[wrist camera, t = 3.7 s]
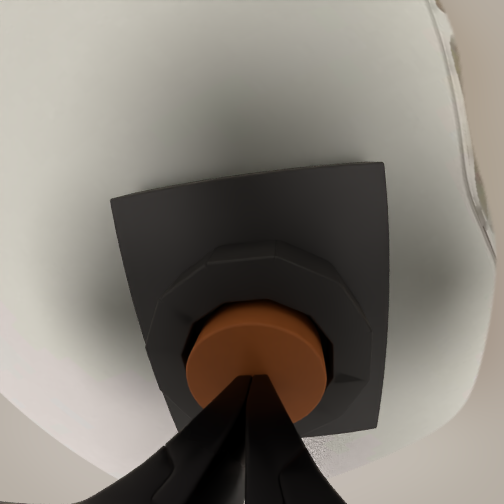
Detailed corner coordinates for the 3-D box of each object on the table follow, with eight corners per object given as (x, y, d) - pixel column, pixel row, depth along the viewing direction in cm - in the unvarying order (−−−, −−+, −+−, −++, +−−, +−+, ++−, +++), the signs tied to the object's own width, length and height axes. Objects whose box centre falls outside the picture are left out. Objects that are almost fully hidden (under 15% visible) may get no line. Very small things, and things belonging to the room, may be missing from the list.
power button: (323, 391, 10) (326, 426, 9) (212, 397, 11) (202, 430, 9) (318, 289, 9) (324, 316, 8) (188, 300, 10) (169, 327, 8)
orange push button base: (368, 397, 14) (384, 457, 10) (191, 408, 15) (170, 465, 11) (366, 161, 11) (405, 162, 7) (136, 192, 12) (79, 207, 8)
